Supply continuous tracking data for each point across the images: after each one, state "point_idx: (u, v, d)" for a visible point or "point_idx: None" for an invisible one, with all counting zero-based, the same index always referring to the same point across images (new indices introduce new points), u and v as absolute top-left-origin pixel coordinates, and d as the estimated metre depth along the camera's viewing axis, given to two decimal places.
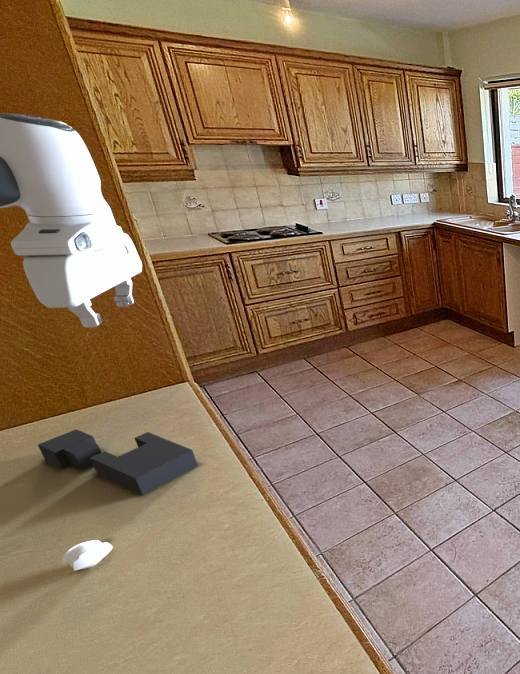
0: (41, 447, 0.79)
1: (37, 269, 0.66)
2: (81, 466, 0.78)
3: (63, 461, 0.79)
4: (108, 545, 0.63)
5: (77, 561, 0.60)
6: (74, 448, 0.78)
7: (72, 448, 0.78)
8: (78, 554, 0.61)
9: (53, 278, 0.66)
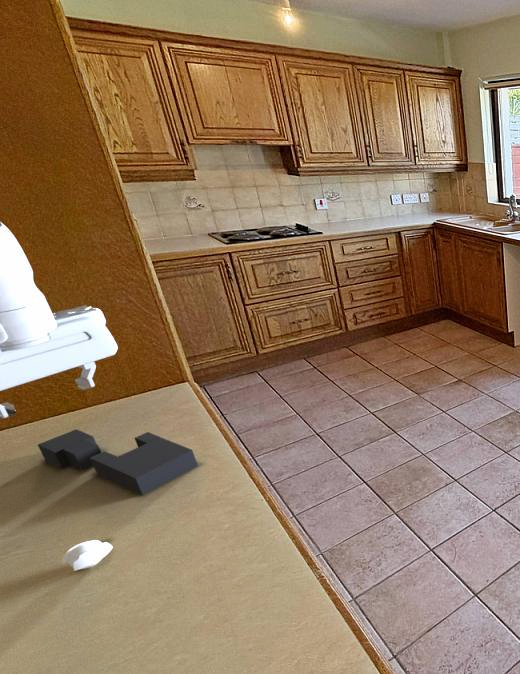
0: (41, 447, 0.79)
1: None
2: (81, 466, 0.78)
3: (63, 461, 0.79)
4: (108, 545, 0.63)
5: (77, 561, 0.60)
6: (74, 448, 0.78)
7: (72, 448, 0.78)
8: (78, 554, 0.61)
9: None
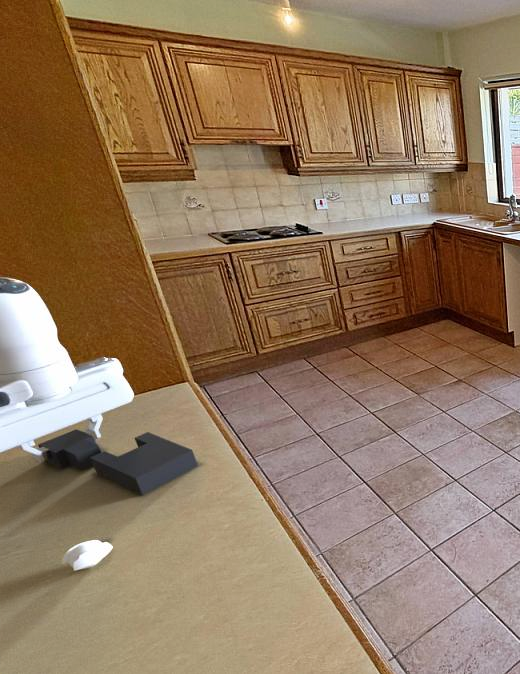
0: None
1: None
2: (81, 466, 0.78)
3: (63, 461, 0.79)
4: (108, 545, 0.63)
5: (77, 561, 0.60)
6: (74, 448, 0.78)
7: (72, 448, 0.78)
8: (78, 554, 0.61)
9: None
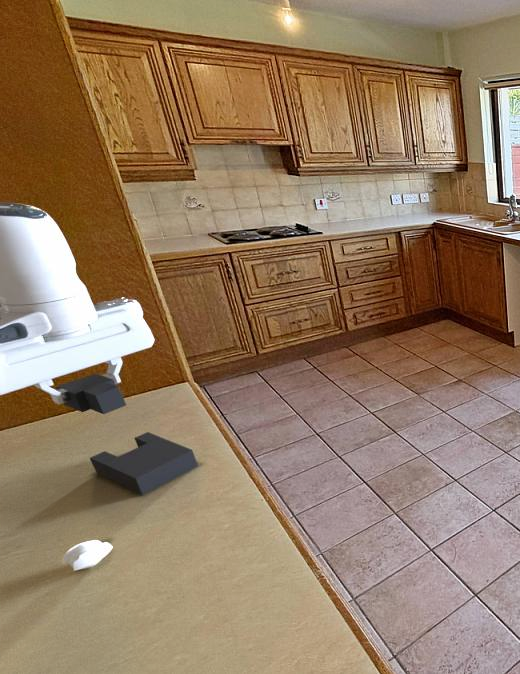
0: None
1: None
2: (102, 408, 0.74)
3: (83, 403, 0.75)
4: (108, 545, 0.63)
5: (77, 561, 0.60)
6: (94, 390, 0.75)
7: (92, 390, 0.75)
8: (78, 554, 0.61)
9: None
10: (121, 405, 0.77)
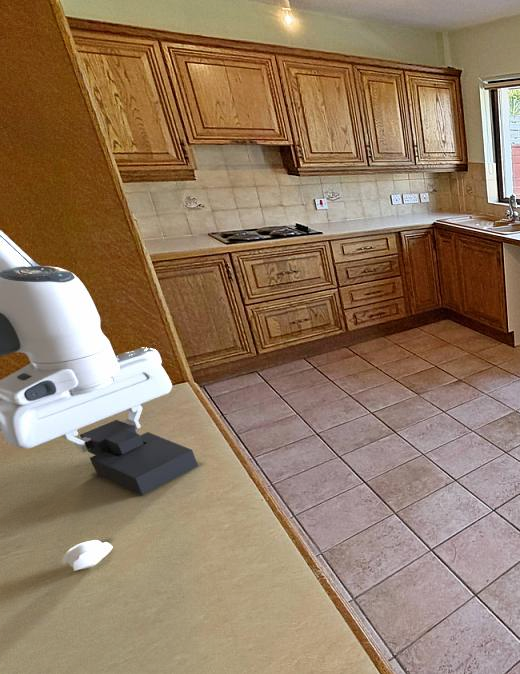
0: (83, 437, 0.79)
1: None
2: None
3: None
4: (108, 545, 0.63)
5: (77, 561, 0.60)
6: (116, 438, 0.78)
7: (114, 438, 0.78)
8: (78, 554, 0.61)
9: (6, 424, 0.69)
10: None
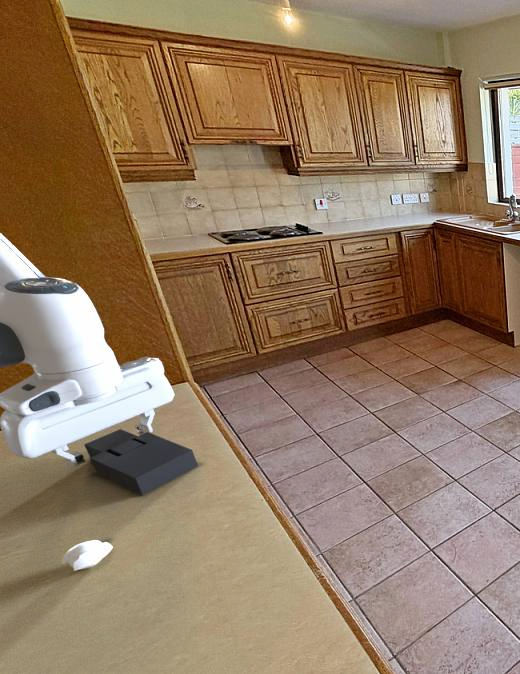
0: (88, 447, 0.79)
1: (4, 423, 0.69)
2: None
3: None
4: (108, 545, 0.63)
5: (77, 561, 0.60)
6: (121, 448, 0.79)
7: (119, 448, 0.79)
8: (78, 554, 0.61)
9: (10, 435, 0.69)
10: None
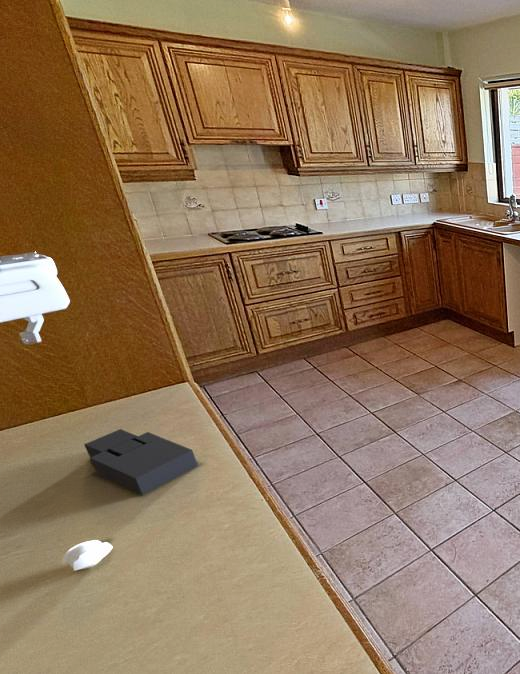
0: (88, 447, 0.79)
1: None
2: None
3: None
4: (108, 545, 0.63)
5: (77, 561, 0.60)
6: (121, 448, 0.79)
7: (119, 448, 0.79)
8: (78, 554, 0.61)
9: None
10: None
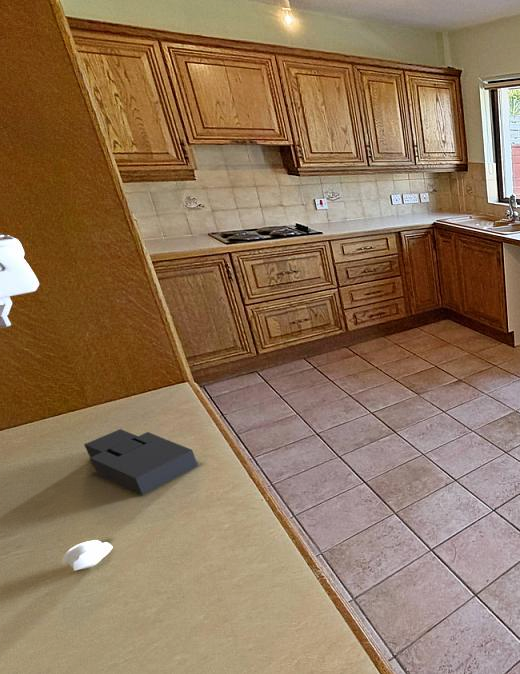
0: (88, 447, 0.79)
1: None
2: None
3: None
4: (108, 545, 0.63)
5: (77, 561, 0.60)
6: (121, 448, 0.79)
7: (119, 448, 0.79)
8: (78, 554, 0.61)
9: None
10: None
